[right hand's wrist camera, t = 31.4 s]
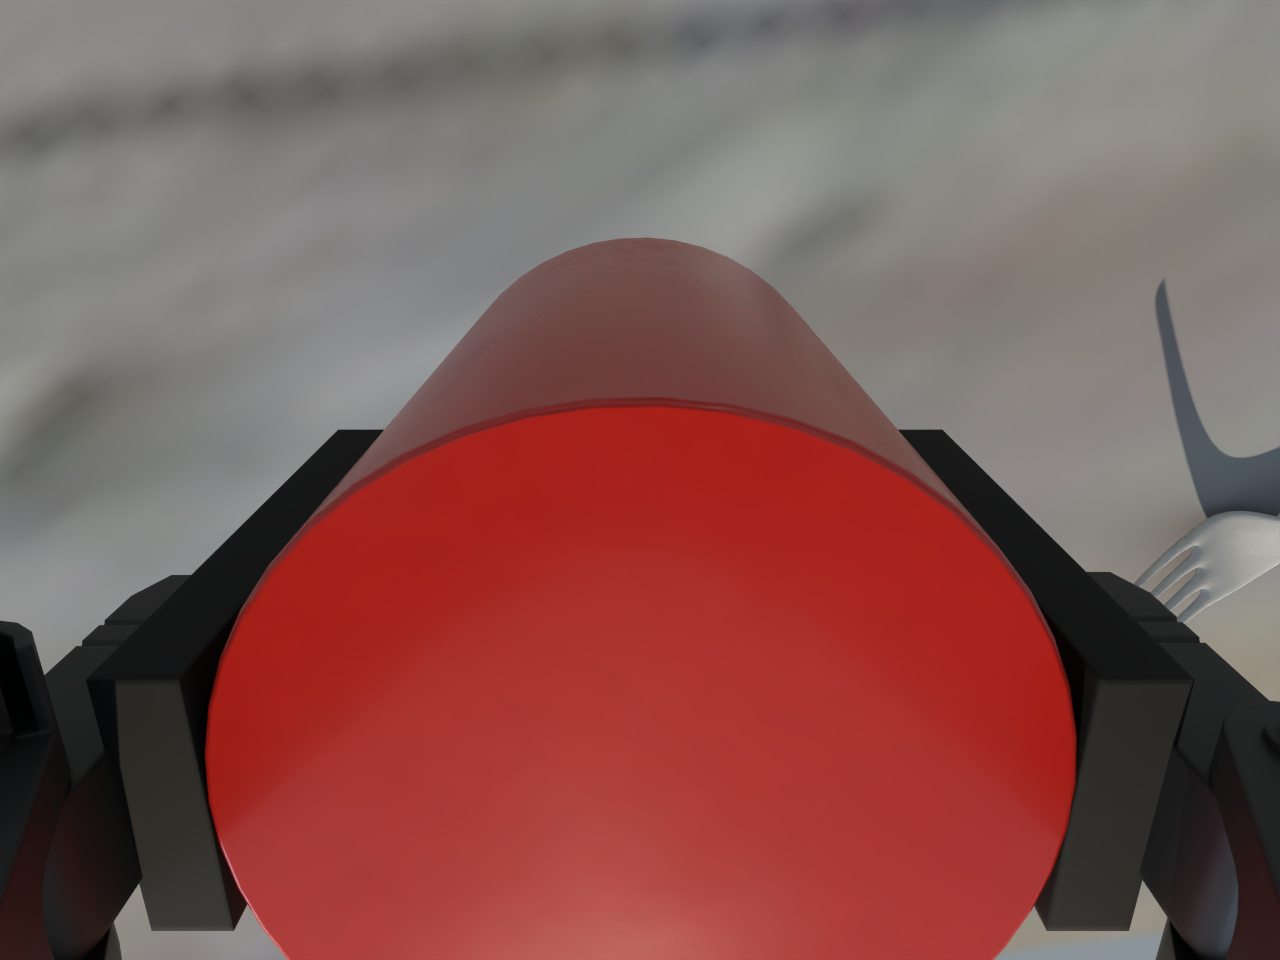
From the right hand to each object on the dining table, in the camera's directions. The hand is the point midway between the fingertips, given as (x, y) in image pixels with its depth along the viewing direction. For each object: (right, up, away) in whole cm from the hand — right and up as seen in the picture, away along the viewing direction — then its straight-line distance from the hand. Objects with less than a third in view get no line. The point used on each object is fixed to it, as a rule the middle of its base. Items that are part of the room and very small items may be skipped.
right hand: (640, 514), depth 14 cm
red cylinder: (0, +1, +4) cm, 4 cm away
